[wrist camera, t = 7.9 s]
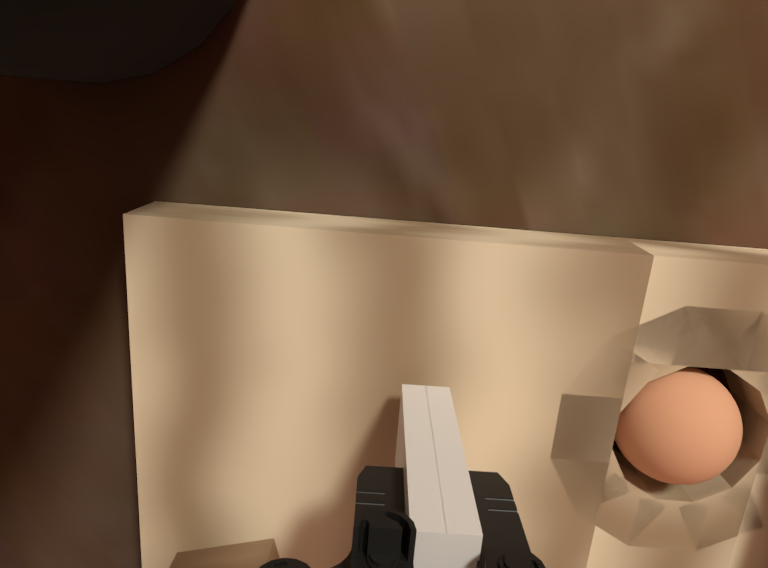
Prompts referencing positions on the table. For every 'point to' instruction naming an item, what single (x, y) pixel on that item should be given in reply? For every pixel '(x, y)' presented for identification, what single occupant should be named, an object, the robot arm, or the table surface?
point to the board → (431, 378)
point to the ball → (681, 428)
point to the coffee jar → (101, 36)
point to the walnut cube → (229, 556)
